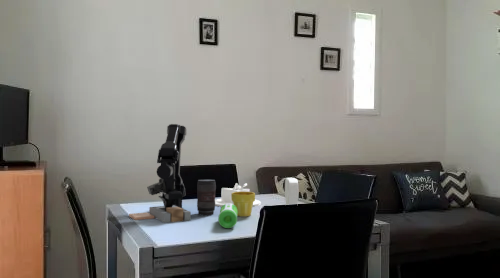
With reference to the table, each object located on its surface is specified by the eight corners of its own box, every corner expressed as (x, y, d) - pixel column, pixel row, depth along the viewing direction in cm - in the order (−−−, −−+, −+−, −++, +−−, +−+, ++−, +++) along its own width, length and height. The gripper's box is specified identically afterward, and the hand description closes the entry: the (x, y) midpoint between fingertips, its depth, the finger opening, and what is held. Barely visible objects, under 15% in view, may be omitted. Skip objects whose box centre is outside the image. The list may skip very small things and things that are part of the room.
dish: (269, 203, 234) (269, 181, 234) (242, 210, 213) (243, 186, 213) (230, 199, 248) (230, 178, 247) (201, 205, 227) (201, 182, 226)
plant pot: (227, 216, 196) (227, 193, 196) (236, 212, 206) (236, 190, 205) (250, 218, 192) (250, 195, 192) (258, 214, 202) (258, 192, 202)
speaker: (220, 220, 188) (220, 202, 188) (237, 220, 188) (237, 202, 188) (217, 229, 170) (218, 209, 170) (237, 229, 170) (237, 209, 170)
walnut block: (177, 218, 190) (177, 206, 190) (183, 221, 185) (183, 208, 185) (166, 219, 187) (166, 207, 187) (171, 222, 182) (171, 209, 182)
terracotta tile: (147, 214, 197) (147, 212, 197) (154, 218, 189) (154, 215, 189) (128, 216, 192) (129, 213, 192) (135, 220, 185) (135, 217, 185)
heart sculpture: (300, 227, 176) (300, 180, 176) (287, 227, 176) (287, 180, 176) (294, 219, 192) (295, 176, 192) (282, 219, 192) (283, 176, 191)
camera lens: (218, 213, 203) (219, 179, 202) (209, 216, 195) (210, 181, 195) (202, 211, 206) (203, 178, 206) (193, 214, 199) (193, 180, 198)
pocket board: (173, 213, 201) (174, 205, 201) (190, 220, 186) (190, 211, 186) (149, 215, 196) (149, 207, 196) (164, 222, 180) (164, 213, 180)
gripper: (142, 175, 196) (141, 211, 196) (157, 179, 180) (156, 218, 180) (166, 174, 202) (166, 209, 202) (183, 178, 186) (182, 216, 186)
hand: (167, 213), depth 193 cm, fingers closed
